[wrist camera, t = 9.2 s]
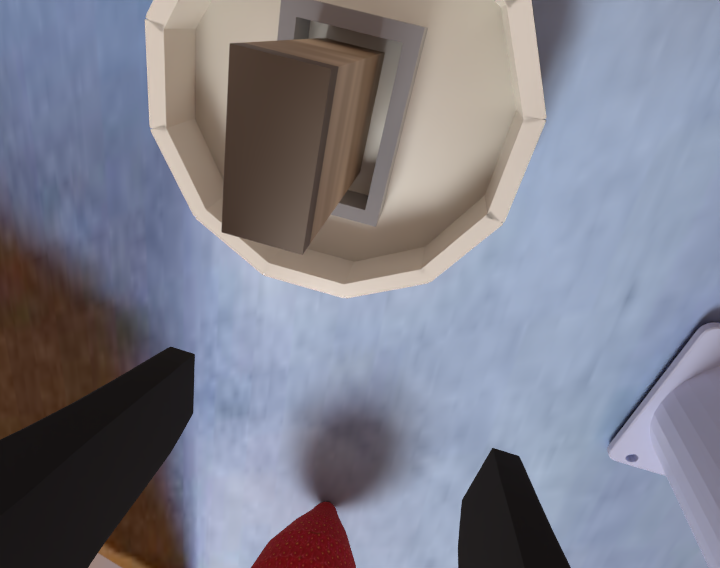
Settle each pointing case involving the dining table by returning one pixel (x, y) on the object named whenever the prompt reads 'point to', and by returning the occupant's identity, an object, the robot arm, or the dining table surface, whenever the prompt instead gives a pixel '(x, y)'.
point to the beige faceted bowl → (386, 132)
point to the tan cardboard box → (294, 135)
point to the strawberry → (310, 543)
